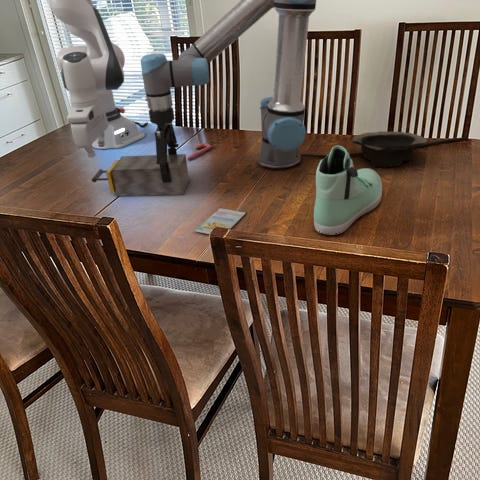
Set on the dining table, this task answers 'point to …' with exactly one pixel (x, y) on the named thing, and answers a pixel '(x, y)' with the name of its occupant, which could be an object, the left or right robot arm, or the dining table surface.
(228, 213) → the baking ingredient package
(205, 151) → the candy cane
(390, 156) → the stone bowl
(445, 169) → the dining table surface
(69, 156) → the dining table surface
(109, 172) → the drawer
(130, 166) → the grey zigzag patterned box
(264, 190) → the dining table surface
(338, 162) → the sneaker
